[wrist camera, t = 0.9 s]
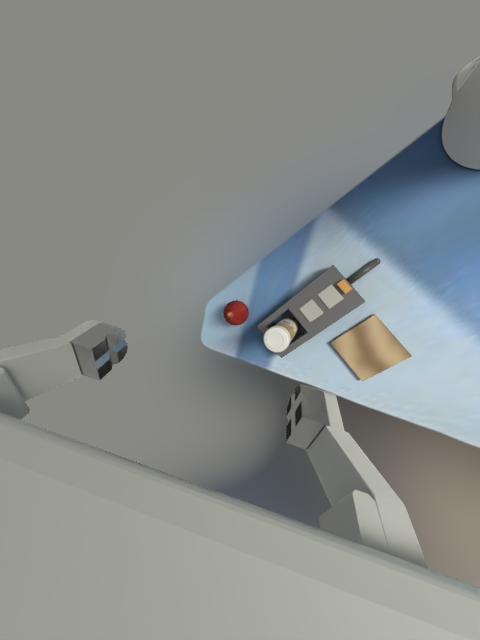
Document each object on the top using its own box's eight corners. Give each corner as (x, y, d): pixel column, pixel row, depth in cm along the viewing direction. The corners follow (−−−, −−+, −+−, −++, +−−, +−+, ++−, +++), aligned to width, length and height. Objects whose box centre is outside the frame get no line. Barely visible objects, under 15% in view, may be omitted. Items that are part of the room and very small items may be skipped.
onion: (238, 326, 52) (224, 332, 45) (227, 307, 52) (211, 310, 45) (257, 315, 50) (245, 320, 42) (245, 295, 50) (231, 297, 43)
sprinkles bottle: (299, 317, 46) (289, 328, 33) (298, 336, 46) (288, 355, 34) (279, 315, 47) (263, 326, 35) (278, 334, 48) (262, 351, 36)
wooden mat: (374, 313, 40) (375, 314, 39) (410, 354, 39) (411, 356, 38) (330, 341, 44) (330, 342, 43) (361, 379, 43) (362, 381, 42)
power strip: (362, 242, 39) (366, 237, 35) (395, 277, 38) (403, 276, 34) (261, 323, 50) (255, 326, 46) (284, 353, 48) (280, 359, 44)
